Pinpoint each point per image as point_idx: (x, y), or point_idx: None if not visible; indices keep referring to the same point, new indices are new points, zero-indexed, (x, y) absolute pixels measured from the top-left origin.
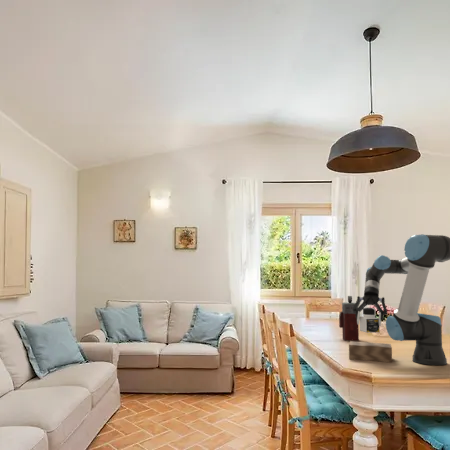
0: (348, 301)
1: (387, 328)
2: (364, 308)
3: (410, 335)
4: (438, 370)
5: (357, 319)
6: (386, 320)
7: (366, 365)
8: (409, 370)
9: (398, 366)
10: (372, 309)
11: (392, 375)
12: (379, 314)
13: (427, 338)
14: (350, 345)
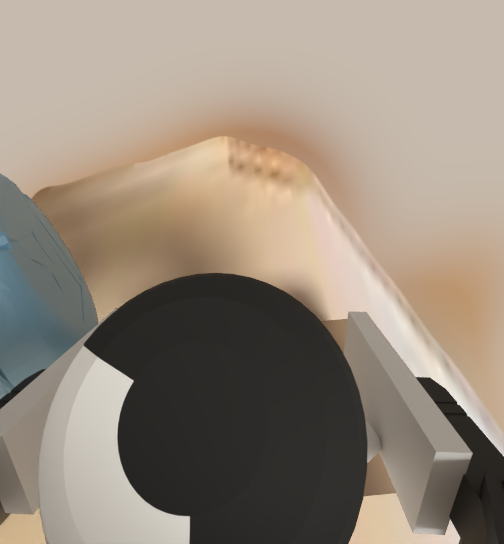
0: None
1: (79, 318)
2: (314, 335)
3: None
4: None
5: (370, 322)
6: (35, 286)
7: (251, 248)
8: (113, 238)
9: (139, 284)
10: (128, 304)
11: (174, 162)
12: (42, 392)
13: None
14: (347, 320)
